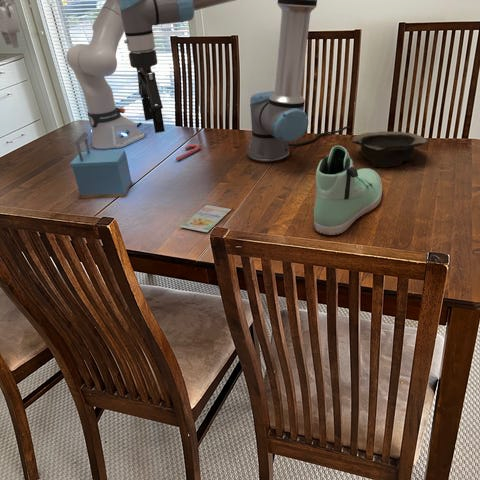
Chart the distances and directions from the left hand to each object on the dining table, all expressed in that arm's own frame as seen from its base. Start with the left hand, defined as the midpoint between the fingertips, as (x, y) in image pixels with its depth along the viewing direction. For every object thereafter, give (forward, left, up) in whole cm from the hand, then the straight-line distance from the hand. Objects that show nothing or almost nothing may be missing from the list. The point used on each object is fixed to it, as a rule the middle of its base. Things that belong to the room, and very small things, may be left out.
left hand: (12, 46), depth 158 cm
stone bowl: (-80, +94, -44) cm, 132 cm away
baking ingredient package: (-11, +76, -44) cm, 89 cm away
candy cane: (-41, +31, -44) cm, 68 cm away
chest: (-4, +34, -44) cm, 56 cm away
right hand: (-14, +54, -21) cm, 59 cm away
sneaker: (-41, +105, -44) cm, 121 cm away
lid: (-4, +34, -33) cm, 48 cm away
